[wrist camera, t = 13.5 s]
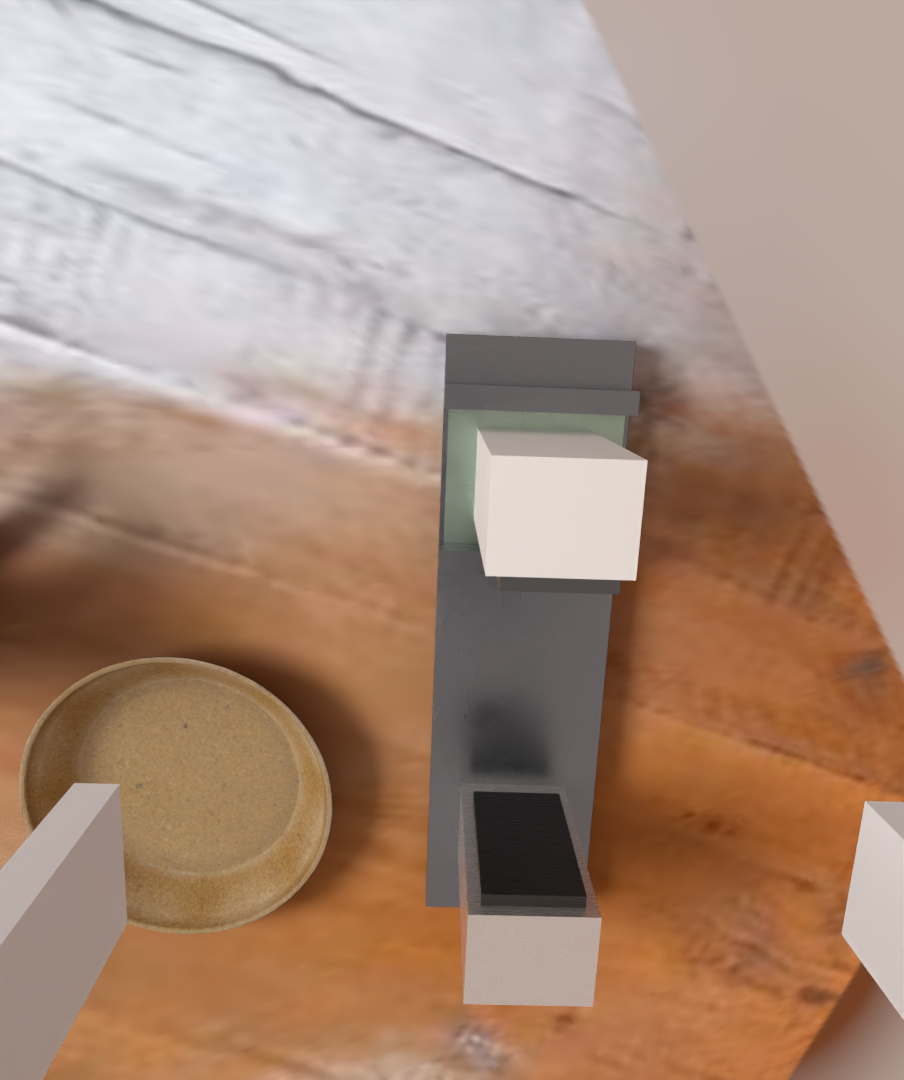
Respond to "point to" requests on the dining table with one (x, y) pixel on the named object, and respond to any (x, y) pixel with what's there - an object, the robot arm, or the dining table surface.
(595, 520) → the block
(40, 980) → the robot arm
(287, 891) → the plant saucer
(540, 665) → the rail
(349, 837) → the dining table surface
